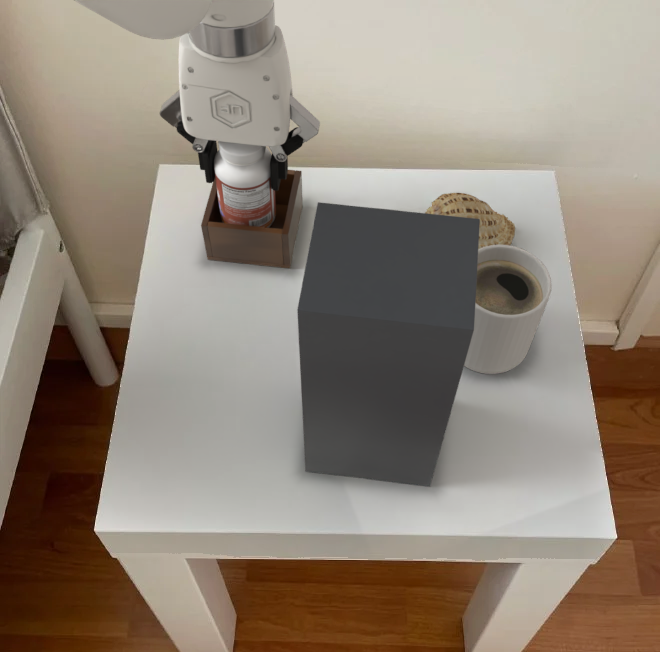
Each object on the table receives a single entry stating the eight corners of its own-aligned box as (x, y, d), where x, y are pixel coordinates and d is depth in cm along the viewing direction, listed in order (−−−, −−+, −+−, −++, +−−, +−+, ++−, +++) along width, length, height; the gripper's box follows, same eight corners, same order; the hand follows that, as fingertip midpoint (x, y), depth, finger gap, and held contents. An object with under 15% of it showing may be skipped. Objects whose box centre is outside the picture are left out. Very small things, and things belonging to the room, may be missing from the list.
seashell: (478, 225, 97) (408, 212, 92) (507, 189, 92) (436, 173, 88) (499, 274, 93) (428, 264, 88) (530, 239, 89) (457, 226, 84)
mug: (543, 360, 84) (569, 302, 75) (460, 387, 82) (476, 330, 73) (497, 282, 89) (516, 219, 80) (418, 306, 87) (428, 244, 78)
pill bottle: (233, 190, 91) (224, 110, 82) (284, 204, 91) (281, 125, 81) (211, 229, 88) (200, 150, 79) (264, 244, 88) (259, 166, 78)
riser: (305, 471, 77) (297, 310, 55) (319, 383, 82) (317, 201, 60) (430, 487, 76) (474, 330, 54) (437, 397, 81) (480, 218, 59)
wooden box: (207, 259, 90) (200, 225, 85) (223, 198, 95) (218, 162, 90) (290, 268, 90) (288, 234, 85) (302, 206, 94) (301, 170, 89)
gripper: (120, 37, 67) (155, 193, 83) (325, 59, 67) (321, 213, 82) (143, -16, 71) (172, 143, 87) (336, 4, 70) (331, 161, 86)
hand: (244, 176), depth 84 cm, fingers closed on pill bottle, 6 cm apart
